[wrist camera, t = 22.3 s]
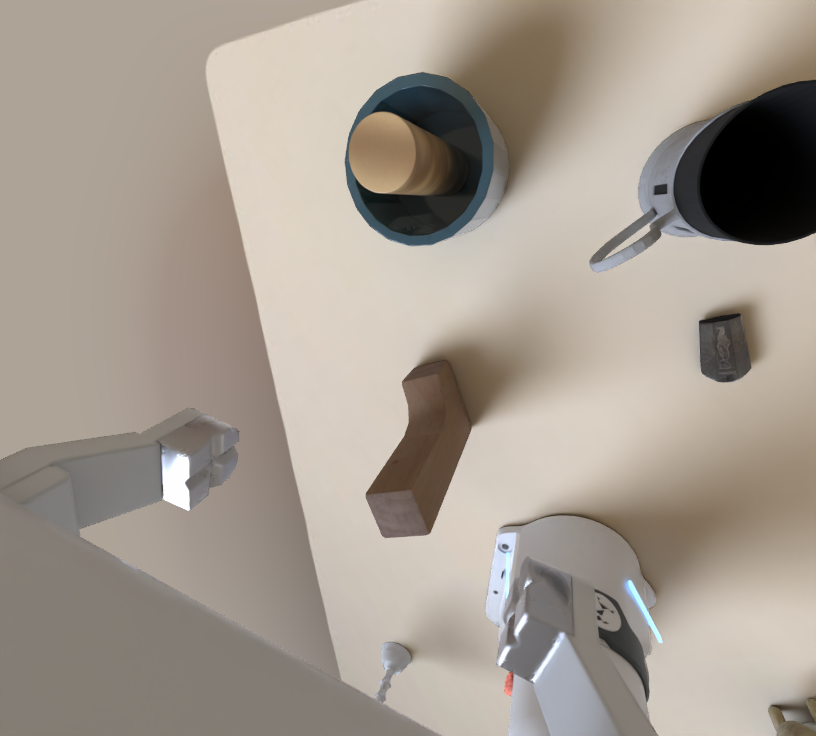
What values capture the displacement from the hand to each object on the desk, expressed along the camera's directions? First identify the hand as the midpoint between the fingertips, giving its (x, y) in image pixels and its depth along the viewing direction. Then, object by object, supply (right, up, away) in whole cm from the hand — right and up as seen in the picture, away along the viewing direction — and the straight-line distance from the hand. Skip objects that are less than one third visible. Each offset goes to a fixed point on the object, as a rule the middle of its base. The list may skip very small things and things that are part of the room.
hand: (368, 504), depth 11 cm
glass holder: (+23, +18, +25) cm, 38 cm away
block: (+29, +6, +27) cm, 40 cm away
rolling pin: (+5, +22, +28) cm, 36 cm away
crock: (+5, +22, +29) cm, 37 cm away
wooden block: (+5, 0, +38) cm, 39 cm away
